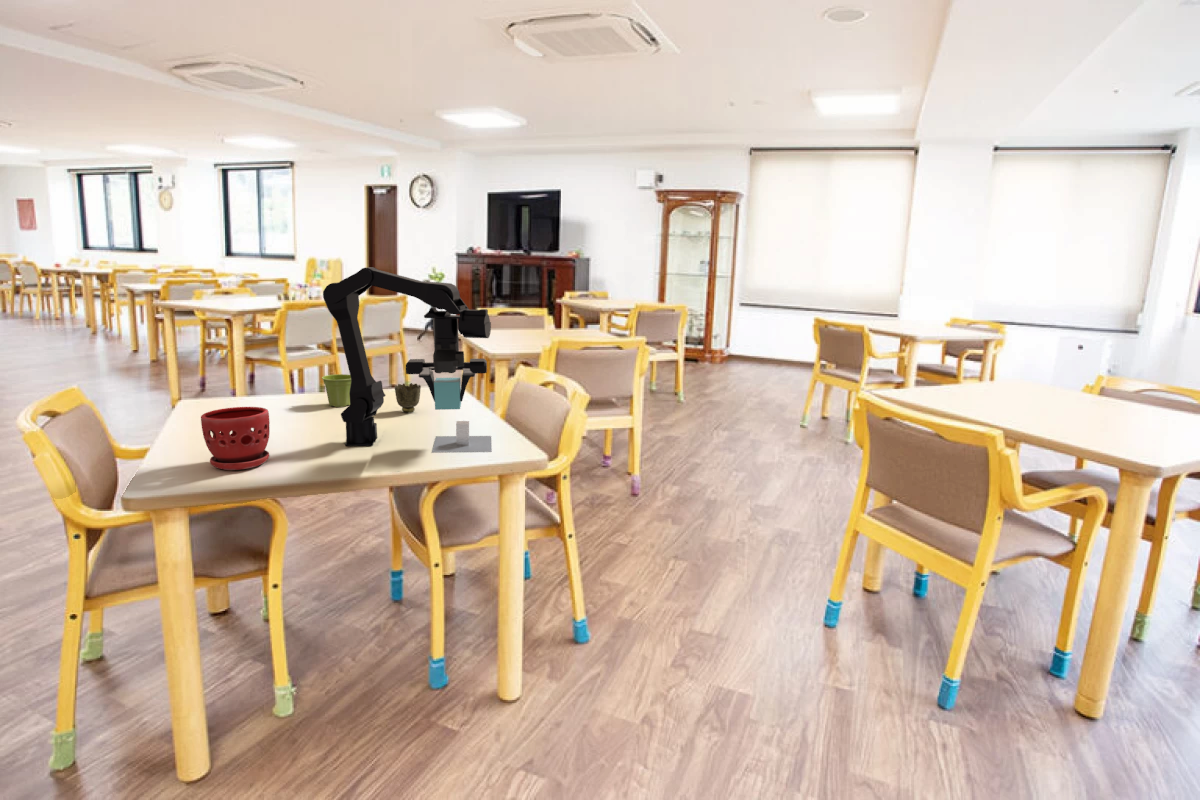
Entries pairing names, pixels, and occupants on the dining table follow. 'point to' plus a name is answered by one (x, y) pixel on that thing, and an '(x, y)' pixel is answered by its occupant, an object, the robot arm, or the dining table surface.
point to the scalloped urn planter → (407, 396)
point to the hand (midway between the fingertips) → (448, 401)
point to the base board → (449, 445)
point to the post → (462, 433)
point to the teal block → (447, 393)
